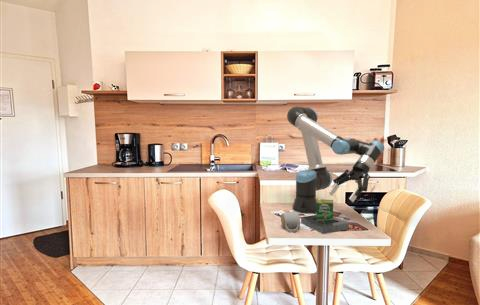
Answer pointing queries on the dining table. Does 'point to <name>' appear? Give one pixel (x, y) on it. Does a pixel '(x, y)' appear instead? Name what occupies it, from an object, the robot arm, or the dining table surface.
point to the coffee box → (324, 211)
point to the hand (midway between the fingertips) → (340, 197)
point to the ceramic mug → (290, 220)
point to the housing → (325, 228)
